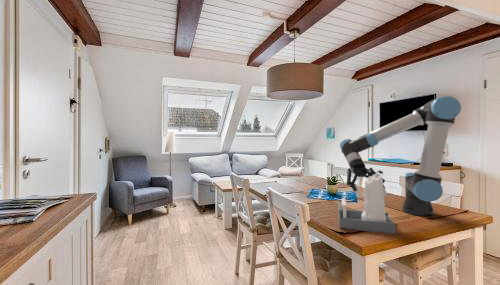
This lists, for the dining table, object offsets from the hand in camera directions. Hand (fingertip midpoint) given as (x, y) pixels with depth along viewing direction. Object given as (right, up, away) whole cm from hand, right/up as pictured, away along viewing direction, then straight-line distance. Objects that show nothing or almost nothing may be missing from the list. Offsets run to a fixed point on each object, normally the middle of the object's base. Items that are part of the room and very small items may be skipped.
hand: (372, 195), depth 116 cm
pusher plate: (-13, -14, +5) cm, 20 cm away
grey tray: (-3, -15, +2) cm, 16 cm away
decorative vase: (+1, -14, 0) cm, 14 cm away
